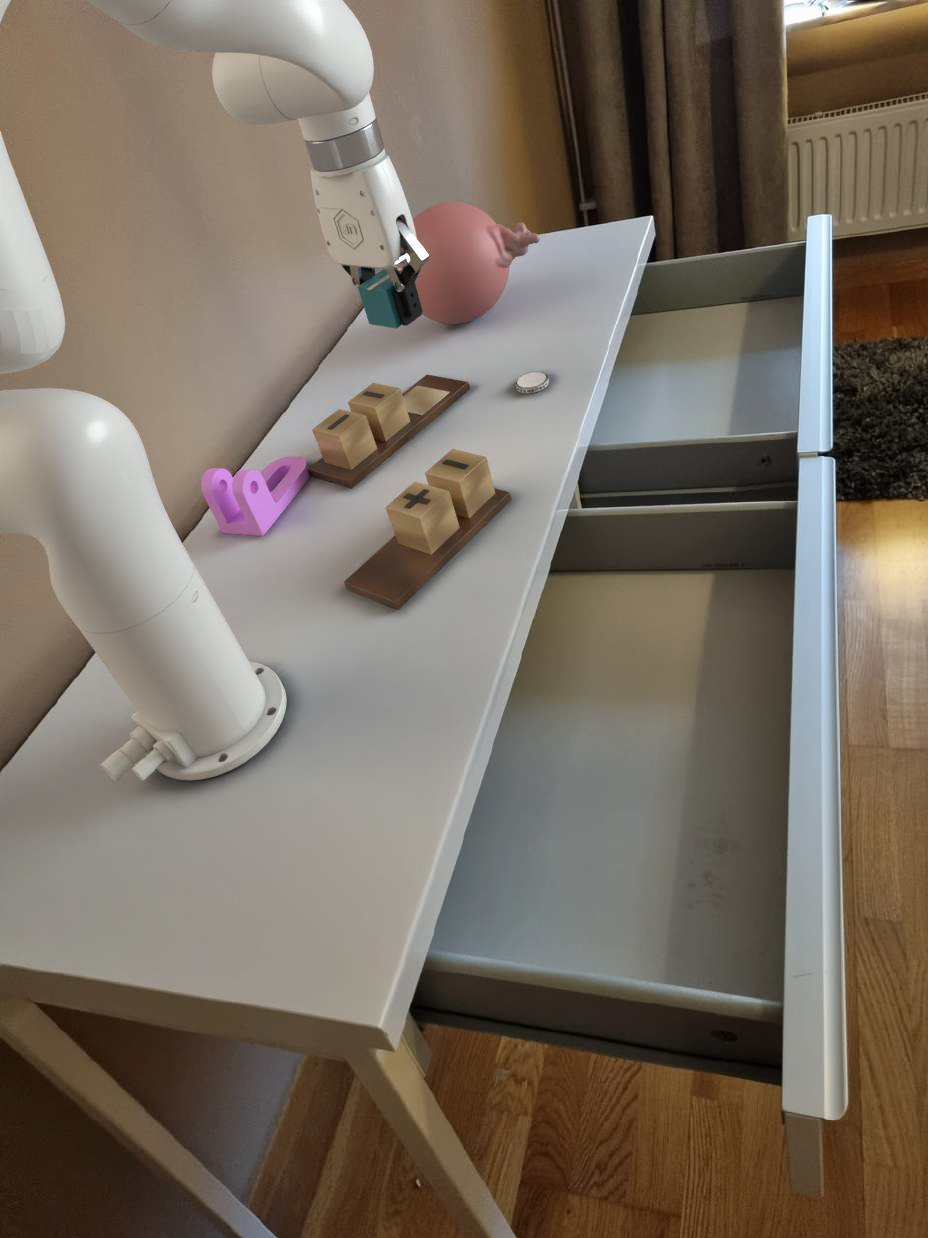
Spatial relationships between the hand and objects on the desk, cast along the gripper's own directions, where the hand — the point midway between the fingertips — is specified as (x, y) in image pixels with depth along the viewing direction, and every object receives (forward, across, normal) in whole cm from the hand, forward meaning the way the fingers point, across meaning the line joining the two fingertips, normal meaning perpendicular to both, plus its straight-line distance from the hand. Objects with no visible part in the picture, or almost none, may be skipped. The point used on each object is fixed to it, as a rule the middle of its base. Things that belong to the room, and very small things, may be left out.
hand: (395, 315), depth 101 cm
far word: (+12, 0, -6) cm, 13 cm away
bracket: (+12, -5, -22) cm, 25 cm away
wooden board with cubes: (+12, +19, -21) cm, 31 cm away
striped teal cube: (0, 0, 0) cm, 0 cm away
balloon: (+12, -8, +22) cm, 27 cm away
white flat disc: (+12, +11, +8) cm, 18 cm away
